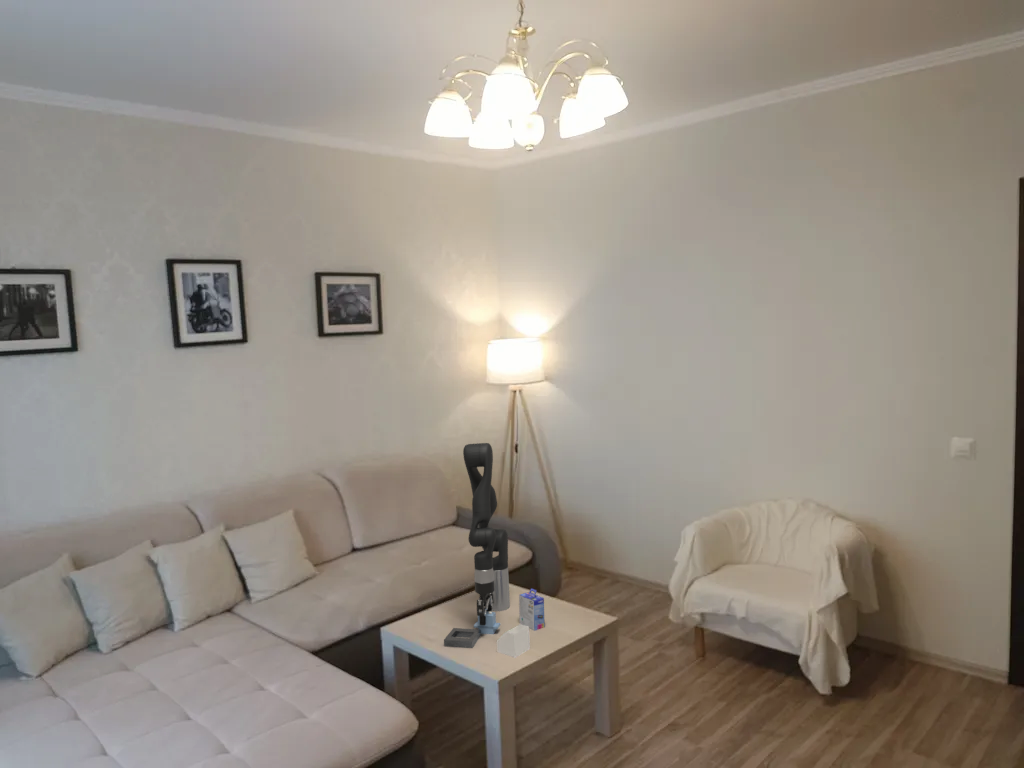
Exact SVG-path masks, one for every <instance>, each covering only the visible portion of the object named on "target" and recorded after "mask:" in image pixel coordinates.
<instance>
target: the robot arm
mask: <svg viewBox="0 0 1024 768" xmlns="http://www.w3.org/2000/svg"><path fill="white" fill-rule="evenodd" d="M492 447H493V446H491V444H490V443H489V442H481V443H478V442H477V443H468V444H466V445H464V447H463V450H462V453H463V460H464V466H465V468H466V471H467V475H468V479H469V482H470V487H471V492H472V500H471V505H472V506H471V507H472V510H471V511H472V512H471V513H472V519H471V525H470V529H469V533H468V543H469V545H470V546H471V547H475V548H477V547H478V548H479V547H481V548H482V550H481V551H478V552H476V553H475V554H474V557H473V558H474V559H473V562H474V574H473V575H474V591H475V593H476V594H478V595H479V598H478V599H476V616H477V617H478V616H480V625H486V612H489V611H492V612H504V611H507V610H508V609H510V608H511V601H510V600H511V597H510V581H509V579H510V578H509V537H508V535H509V534H508V531H507V530H506V529H501V528H493V527H490V526H489V523H490V521H491V519H492V517H493V516H494V514H495V512H496V510H497V507H498V499H497V494H496V491H495V490H496V489H495V488H494V486H493V485H492V476H493V463H494V452H493V451H494V450H493V448H492ZM478 468H483V474H481V472H480V471H479V469H478ZM494 553H498V555H496V556H493V555H494ZM481 611H482V612H481Z"/></svg>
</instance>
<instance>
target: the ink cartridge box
mask: <svg viewBox="0 0 1024 768" xmlns="http://www.w3.org/2000/svg"><path fill="white" fill-rule="evenodd" d="M537 591H538V590H537V589H534V588H532V587H531V588H530V590H529V592H524V593H520V594H519V595H518V605H519V606H518V607H519V613H518V614H519V624H521V625H525V626H528V627H529V630H531V631H534V632H535V631H538V630H541V629H544V628H545V626H546V624H545V598H544V597H542V596H541V595H540V596H539V595H537ZM533 592H534V593H533Z"/></svg>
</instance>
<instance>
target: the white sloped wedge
mask: <svg viewBox="0 0 1024 768" xmlns="http://www.w3.org/2000/svg"><path fill="white" fill-rule="evenodd" d="M530 640H531V639H530V629H529V627H528V626H525V625H521V624H520V623H519V624H517V625H516V626H514V627H511V628H510V629H508V630H506V631H504V632H503V633H502V634H501V636H499V638H498V639H497V640H496V652H497V653H499V654H502V655H504V656H508V657H511V658H514V659H516V658H518V657H519V656H521V655H522V654H524V653H525V652H528V651H529V650H531V641H530Z"/></svg>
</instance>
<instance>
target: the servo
mask: <svg viewBox="0 0 1024 768" xmlns="http://www.w3.org/2000/svg"><path fill="white" fill-rule="evenodd" d="M481 612H482V610H481ZM496 617H497V616H496V611H489V612H486V625H480V616H477V621H476V622H475V623H474V624H473V629H480V630H481V635H494V634H495V632H496V631H497V630H498V629H499V628H500V626H501V622H497V618H496Z"/></svg>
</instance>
